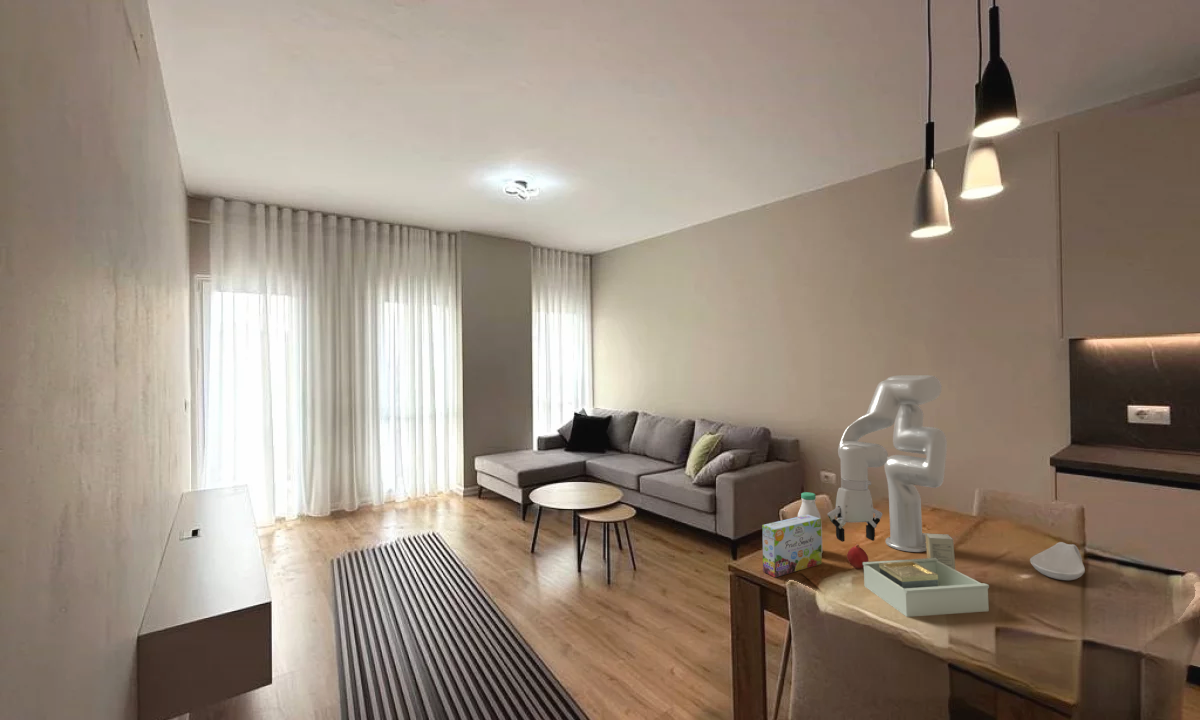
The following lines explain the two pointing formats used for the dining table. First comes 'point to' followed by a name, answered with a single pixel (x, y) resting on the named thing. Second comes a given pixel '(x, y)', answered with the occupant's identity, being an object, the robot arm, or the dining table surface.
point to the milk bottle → (809, 508)
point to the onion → (857, 557)
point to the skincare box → (941, 548)
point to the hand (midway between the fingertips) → (855, 539)
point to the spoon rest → (1059, 562)
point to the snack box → (791, 545)
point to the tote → (929, 591)
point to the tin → (909, 574)
